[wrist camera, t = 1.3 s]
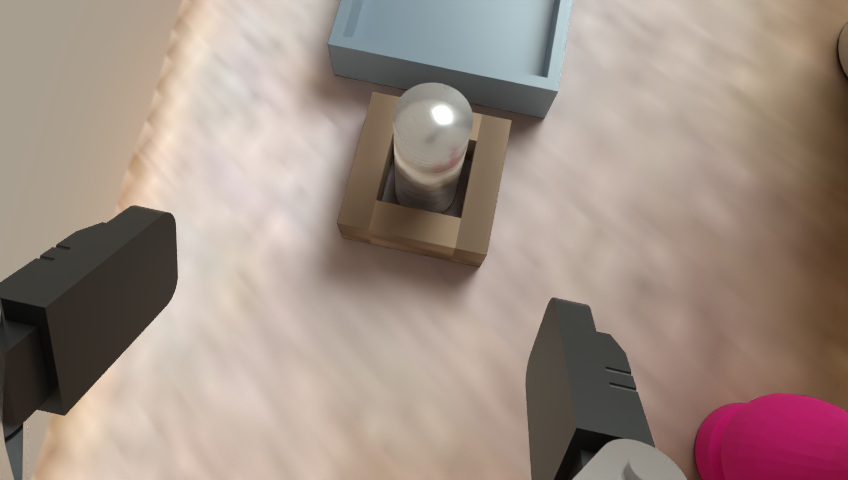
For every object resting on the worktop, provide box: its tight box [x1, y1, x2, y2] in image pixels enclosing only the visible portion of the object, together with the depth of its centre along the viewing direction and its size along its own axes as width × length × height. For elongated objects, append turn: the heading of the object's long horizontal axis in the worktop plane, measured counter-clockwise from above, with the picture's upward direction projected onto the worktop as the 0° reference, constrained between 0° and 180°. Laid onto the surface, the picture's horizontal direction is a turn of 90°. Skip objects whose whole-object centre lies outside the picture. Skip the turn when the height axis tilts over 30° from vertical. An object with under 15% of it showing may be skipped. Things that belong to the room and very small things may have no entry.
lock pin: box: [393, 83, 473, 214], centre depth 32 cm, size 4×4×10 cm
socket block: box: [337, 92, 512, 267], centre depth 35 cm, size 9×9×3 cm
